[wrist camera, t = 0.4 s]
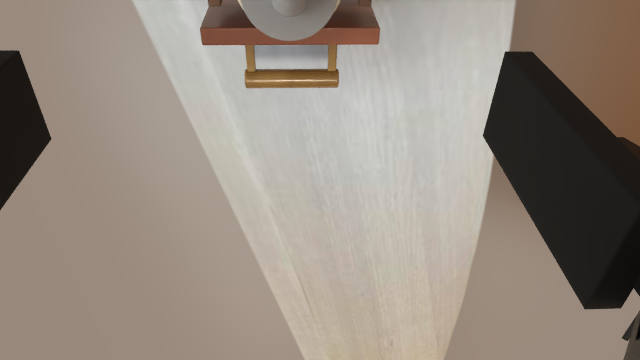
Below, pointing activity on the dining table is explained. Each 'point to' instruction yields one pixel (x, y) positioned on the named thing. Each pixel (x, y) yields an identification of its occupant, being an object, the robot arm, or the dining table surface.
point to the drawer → (342, 28)
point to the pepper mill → (289, 16)
